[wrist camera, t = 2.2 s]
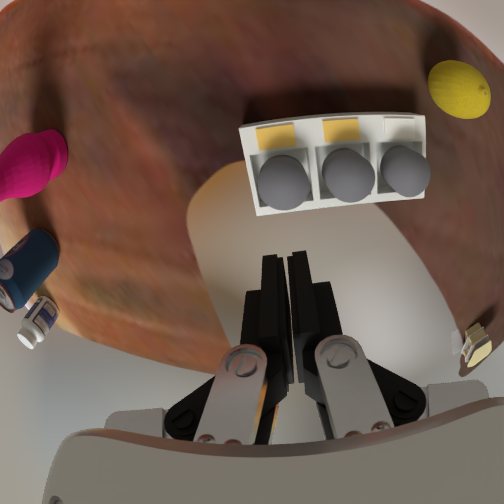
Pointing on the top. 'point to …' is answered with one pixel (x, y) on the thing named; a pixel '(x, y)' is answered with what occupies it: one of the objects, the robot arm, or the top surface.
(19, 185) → the pepper mill
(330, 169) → the middle button
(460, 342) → the stacked layers on plate
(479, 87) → the lemon
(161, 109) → the top surface
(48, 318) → the pill bottle
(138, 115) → the top surface
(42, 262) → the soda can
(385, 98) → the top surface
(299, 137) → the button board
